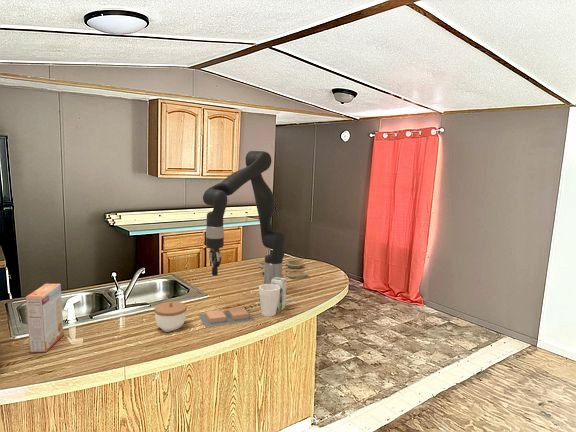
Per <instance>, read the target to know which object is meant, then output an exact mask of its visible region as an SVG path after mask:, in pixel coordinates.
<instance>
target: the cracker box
mask: <svg viewBox="0 0 576 432" xmlns="http://www.w3.org/2000/svg"><path fill="white" fill-rule="evenodd" d="M62 299H63V298H62V286H61V283H44V284H43V285H42V286H40V287H39V288H37V289H35V290H34V291H32V292H31V293H30V294H27V295H26V296H25V306H26V307H25V308H26V317H27V318H26V319H27V328H28V329H27V331H28V332H27V333H28V343H29V352H30V353H47V352H48V351H49V350H50V349H51V348H52V347H53V346H54V345H55V344H56V343H57V342H58V341H59V340H60V339H61V338H62V337H63V336H64V335H65V332H64V319H63V316H64V315H63V303H62Z"/></svg>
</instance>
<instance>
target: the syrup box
mask: <svg viewBox="0 0 576 432" xmlns="http://www.w3.org/2000/svg"><path fill="white" fill-rule="evenodd" d="M271 284H274V285H278V286H279V287H280V293H279V298H278V304H277V310H278V311H279V312H282V311H283V310H284V309H285V308H286V296H287V295H286V293H287V278H284V277H283V278H278V277H275V278H273V279H272V280H271ZM277 310H276V311H277Z"/></svg>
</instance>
